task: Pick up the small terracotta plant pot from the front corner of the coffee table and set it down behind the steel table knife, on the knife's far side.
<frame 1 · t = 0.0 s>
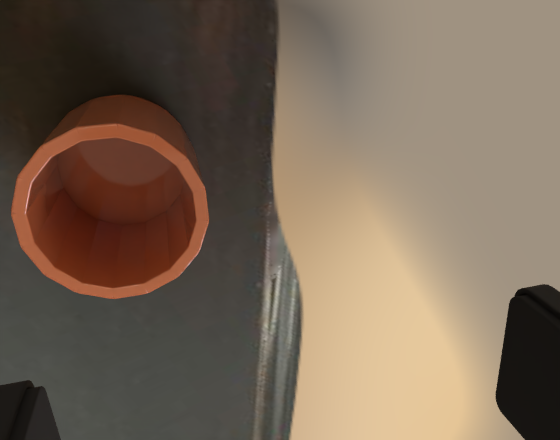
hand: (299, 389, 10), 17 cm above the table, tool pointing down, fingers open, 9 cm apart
pot: (124, 164, 25), on the table
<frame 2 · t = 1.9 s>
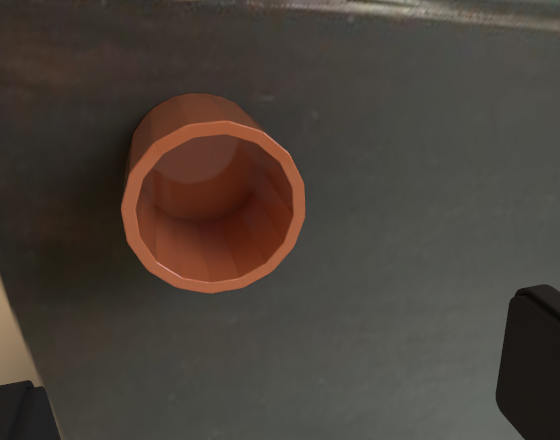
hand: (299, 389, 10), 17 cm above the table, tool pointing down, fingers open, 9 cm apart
pot: (199, 162, 25), on the table
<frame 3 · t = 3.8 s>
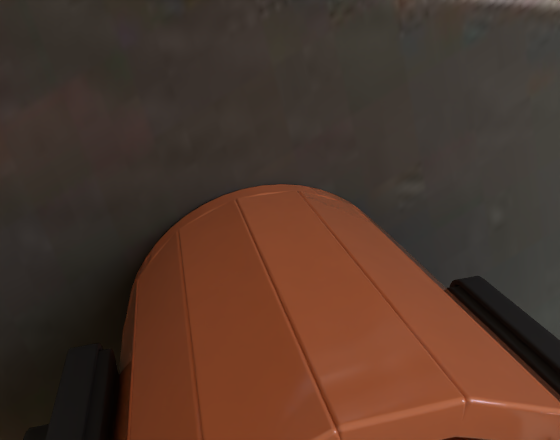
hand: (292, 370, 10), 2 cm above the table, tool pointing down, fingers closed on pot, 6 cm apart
pot: (270, 314, 12), on the table, touching gripper
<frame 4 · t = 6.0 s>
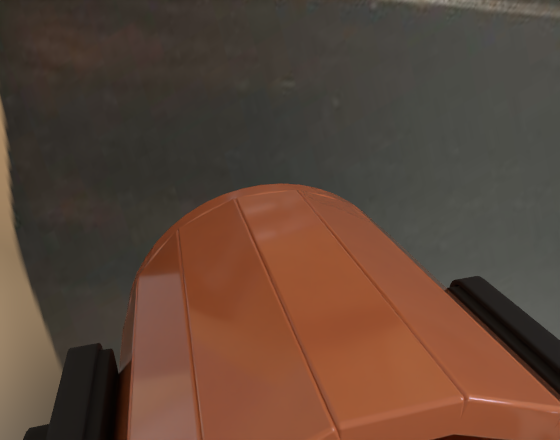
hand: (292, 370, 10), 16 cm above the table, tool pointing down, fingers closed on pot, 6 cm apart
pot: (270, 313, 12), point 14 cm above the table, touching gripper
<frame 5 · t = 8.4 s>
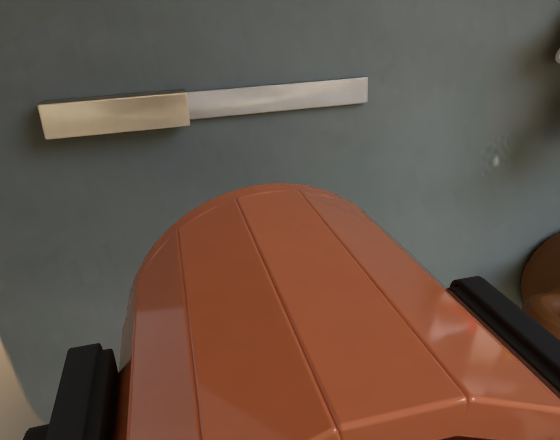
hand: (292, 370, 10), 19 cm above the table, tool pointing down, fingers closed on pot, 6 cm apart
knife: (215, 102, 27), on the table
mug: (534, 269, 36), on the table
pot: (270, 313, 12), point 17 cm above the table, touching gripper
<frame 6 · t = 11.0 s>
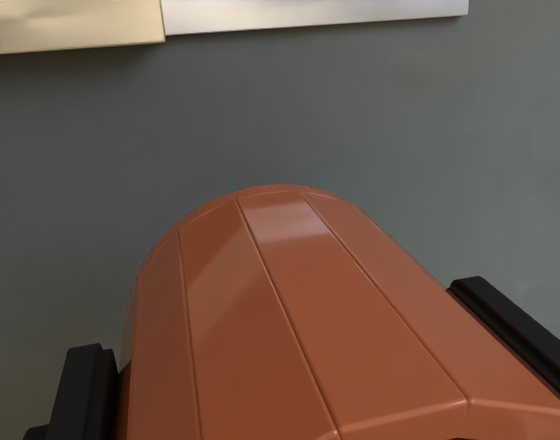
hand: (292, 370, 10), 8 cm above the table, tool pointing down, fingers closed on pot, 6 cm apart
knife: (211, 7, 15), on the table
pot: (270, 314, 12), point 6 cm above the table, touching gripper
when the fingers open (2 cm above the table, at t = 13.0 s): pot stays where it is, on the table.
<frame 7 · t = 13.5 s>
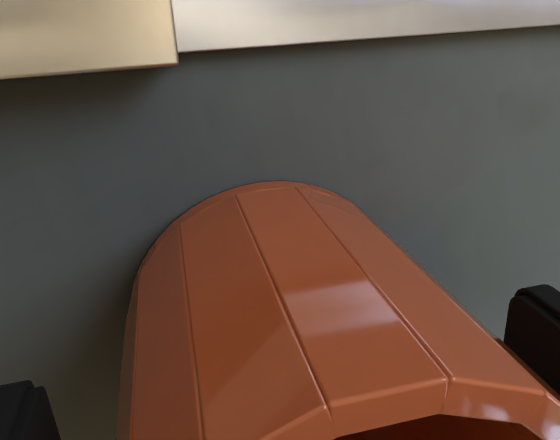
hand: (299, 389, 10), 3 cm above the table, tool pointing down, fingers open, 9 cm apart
knife: (247, 9, 10), on the table
pot: (269, 308, 13), on the table
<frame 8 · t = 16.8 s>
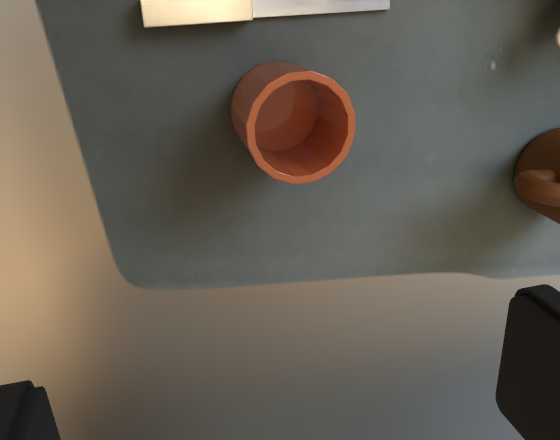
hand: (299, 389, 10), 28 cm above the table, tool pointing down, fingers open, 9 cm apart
knife: (271, 5, 34), on the table
mug: (526, 165, 44), on the table
pot: (276, 109, 36), on the table
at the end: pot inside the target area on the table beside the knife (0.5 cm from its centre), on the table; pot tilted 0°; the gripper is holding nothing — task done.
